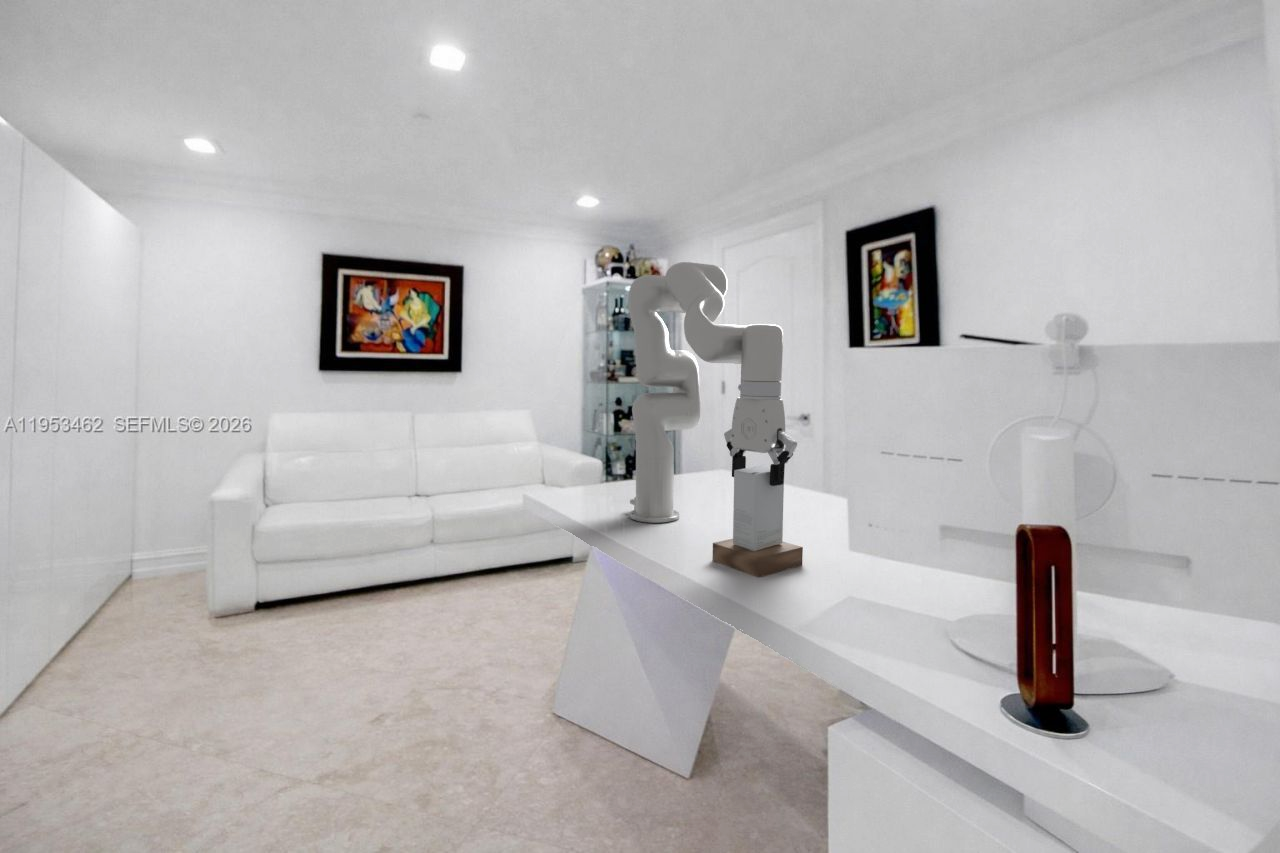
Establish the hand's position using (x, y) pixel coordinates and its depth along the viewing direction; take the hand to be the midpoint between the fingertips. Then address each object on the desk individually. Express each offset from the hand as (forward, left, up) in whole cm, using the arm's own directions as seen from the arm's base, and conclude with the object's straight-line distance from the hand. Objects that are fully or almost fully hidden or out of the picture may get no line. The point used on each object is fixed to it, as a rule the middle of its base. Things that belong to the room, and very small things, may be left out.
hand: (756, 480), depth 115 cm
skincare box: (+1, 0, -13) cm, 13 cm away
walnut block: (+1, 0, -16) cm, 16 cm away
